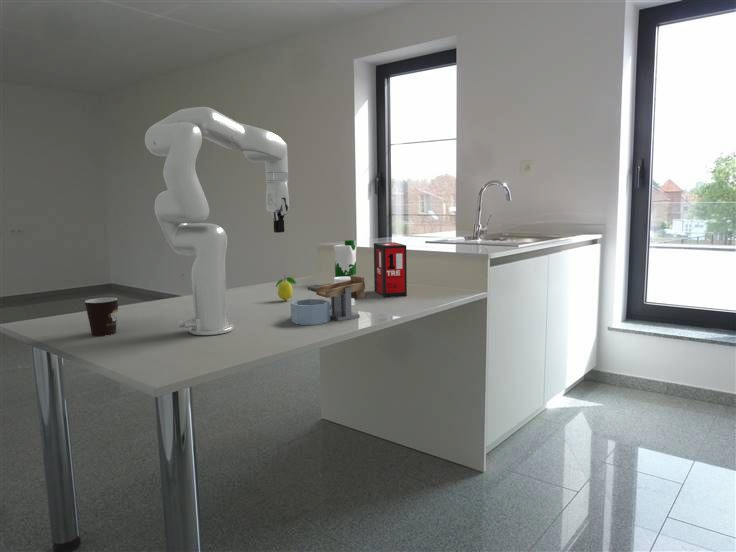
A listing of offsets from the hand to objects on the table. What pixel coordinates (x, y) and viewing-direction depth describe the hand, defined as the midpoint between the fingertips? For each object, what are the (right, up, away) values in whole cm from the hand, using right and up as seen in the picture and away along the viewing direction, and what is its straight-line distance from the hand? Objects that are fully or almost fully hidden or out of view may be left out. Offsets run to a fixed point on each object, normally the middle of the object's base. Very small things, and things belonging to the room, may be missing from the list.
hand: (279, 232), depth 193 cm
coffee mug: (-46, -32, -27) cm, 62 cm away
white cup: (+22, -26, +10) cm, 36 cm away
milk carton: (+21, -19, +58) cm, 65 cm away
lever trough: (+21, -23, -8) cm, 32 cm away
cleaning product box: (+40, -22, +33) cm, 56 cm away
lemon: (-1, -25, +21) cm, 32 cm away
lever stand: (+22, -28, -10) cm, 37 cm away
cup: (+13, -29, -16) cm, 36 cm away
